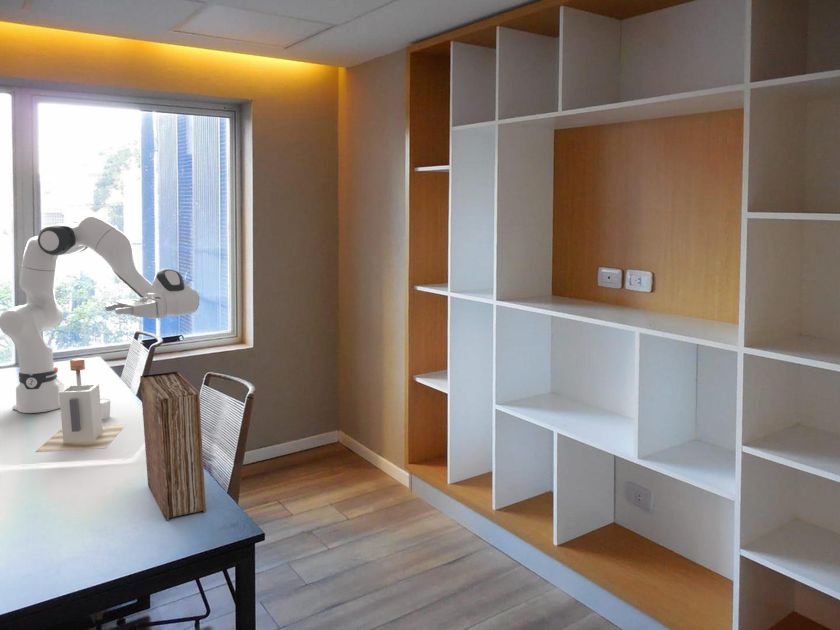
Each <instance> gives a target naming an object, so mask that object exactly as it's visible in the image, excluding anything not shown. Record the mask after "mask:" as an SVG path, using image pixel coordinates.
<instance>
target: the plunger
mask: <svg viewBox="0 0 840 630" xmlns="http://www.w3.org/2000/svg"><path fill="white" fill-rule="evenodd" d="M85 363H86V362H85V358H72V359H70V360H69V365H70V371H72V372H73V371H74V372H75V374H76V375H75V376H76V377H75V378H76V385H77V390H78V391H82V387H81V385H82V377H81V371H83V370H85V369H86V364H85Z"/></svg>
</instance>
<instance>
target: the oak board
mask: <svg viewBox="0 0 840 630" xmlns="http://www.w3.org/2000/svg"><path fill="white" fill-rule="evenodd" d="M126 426H127V423H126V424H125V423H124V424H106V425H105V424H104V425H103V424H102V430H103V432H102V433H101V434H100V435H99V437H98V438H97V439H96V440H95V441H87V442H67V443H63V433H62V428H61V429H59V430H58V431H57V432H56V433H54V435H53V436H52V437H50V438H49V439H48V440H47V441H46V442H45V443H43V444H42V445H41V446H40V447H39V448H37V450H35V453H42V452H61V451H62V452H63V451H64V452H65V451H83V450H98V449H102V450H103V449H106V448H108V446H109V445H110V444H112V443H111V442H113V441H114V440H115V438H116V437H117V436H118V435H119V434H120V433H121V431H122V430H123V429H124V428H125V427H126Z"/></svg>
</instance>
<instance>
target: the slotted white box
mask: <svg viewBox="0 0 840 630" xmlns="http://www.w3.org/2000/svg"><path fill="white" fill-rule="evenodd" d="M81 387H82V391H78V390H77V384H69V385H68V386H65V389H63V390H62V391H60V392H59V398H60V408H59V409H60V419H61V429H62V433H63V443H67V442H87V441H95V440H96V439H97V438H98V437H99V435H100V434H101V433H102V432H103V430H102V425H103V419H102V417H101V404H100V399H101V395H100V391H101V390H100V383H93V384H91V383H89V384H87V383H86V384H81Z"/></svg>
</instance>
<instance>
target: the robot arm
mask: <svg viewBox="0 0 840 630" xmlns="http://www.w3.org/2000/svg"><path fill="white" fill-rule="evenodd" d="M25 245H26V246H25V249H24V253H23V257H22V260H21V268H20V276H19V288H20V289H21V290H22V292H25V296H26V303H25V304H21V305H17V306H16V305H15V306H12V307H11V308H8V309H7V310H4V312H2V313H1V314H0V331H1V332H3V333H4V335H6V336H7V337H9V338H10V339H11V341H12V342H13V345H14V347H15V350H16V352H17V358H18V368H19V371H18V381H19V384H18V386H16V388H15V400H16V402H15V404H16V405H13V406H12V410H13V409H15V410H14V411H17V412H19V413H23V414H34V413H35V414H36V413H46V412H51V411H54V410H58V409H60V398H59V392H60V391H62V390H63V389H65V388H66V386H65V384H64V383H63V382H62V381H60V380H59V379H58V375H57V374H58V371H59V369H58V367H57V366H56V367H55V365H54V364H55V363H54V355H53V349H52V347H51V346H50V345H49V344H46V342H45V341H44V338H43V335H42V332H46V331H50V330H52V329H54V328H56V327H57V326H59V325H60V324H61V323H62V322H63V320H64V312H63V309H62V307H61V305H60V304H58V302H57V300H56V295H55V284H56V277H57V276H56V275H57V269H58V260H59V258H60V256H65V255H67V256H68V255H72V254H73V255H74V254H76V253H80V252H83V251H86V250H87V249H90V250H92V251H93V252H94V253H96V254H97V255H98V256H100V257H101V258H102V259H103V261H105V262H106V263H107V264H108V265H109V266H110V268H111V269H112V271H113V272H114V274H115V275H116V276H117V277H118V278H119V279H120V280H121V281H122V282H123V283H124V284H126V285H127V287H129V288H130V289H131V290H132V291H133V292H134V293H136V294H137V295H138V296H139V297H140V299H137V298H136V299H135V298H134V299H131V298H129V299H128V298H127V299H118V300H115V303H113V304H109V305H107V304H106V305H105V307H104V308H105V309H104V310H105V311H106V312H113V311H115V314H117V315H131V316H133V317H137V318H138V317H139V318H147V319H148V320H154V319H156V320H157V319H162V318H163V319H164V318H167V317H171V316H172V317H182V316H186V315H192V314H193V313H195V312H197V310H198V308H199V305H200V295H199V293H198V292H197V291H196V289H192V288H191V287H190V286H189V285H188V284H187V283H186V282H185V280H184V278H183V276H182V274H181V273H180V272H179V271H177V270H176V269H173V268H167V267H165V268H162V269H160V270H158V271H157V272H156V274H155V276H154V277H153V281H152V283H151V282H150V281H149V280H148V279H146V278H145V276H144V275H142V273H140V272H139V270H138V269H137V268H136V264H135V261H134V253H133V252H134V251H133V249H134V248H133V244H132V241H131V240H130V238H129V237H128V236H127V235H126V234H125V233H124V232H123V231H121V230H120V229H118V228H116V227H115V226H114V225H112V224H111V223H109V222H108V221H105V220H104V219H101V217H100V218H99V217H97V216H95V215H86V216H84V217H82V218H81V219H80V220H79V221H78V222H62V223H56V224H50V225H47V226H45V227H43V228H42V229H40V231H39V232H38V234H37V236H33V237H31V238H29V239H28V240H27V243H26V244H25Z"/></svg>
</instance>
